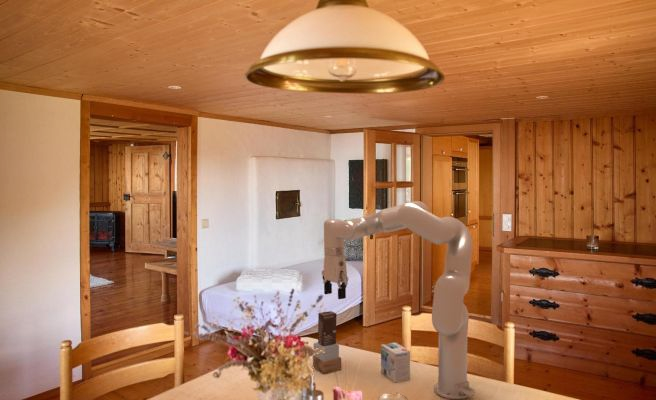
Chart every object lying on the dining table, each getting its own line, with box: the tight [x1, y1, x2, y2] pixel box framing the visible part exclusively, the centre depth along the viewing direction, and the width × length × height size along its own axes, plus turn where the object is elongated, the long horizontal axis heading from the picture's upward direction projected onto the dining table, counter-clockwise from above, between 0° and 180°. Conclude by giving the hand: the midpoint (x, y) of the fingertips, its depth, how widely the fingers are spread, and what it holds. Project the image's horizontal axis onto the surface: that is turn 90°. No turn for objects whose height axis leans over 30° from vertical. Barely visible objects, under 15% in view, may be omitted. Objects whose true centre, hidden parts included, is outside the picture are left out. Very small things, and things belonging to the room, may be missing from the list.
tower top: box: [313, 341, 340, 361], centre depth 188 cm, size 7×7×5 cm
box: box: [317, 310, 338, 346], centre depth 187 cm, size 6×4×12 cm
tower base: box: [312, 354, 342, 375], centre depth 188 cm, size 8×8×5 cm
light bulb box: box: [380, 341, 411, 383], centre depth 181 cm, size 11×7×11 cm, turn 23°
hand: (334, 296), depth 186 cm, fingers open, 9 cm apart
